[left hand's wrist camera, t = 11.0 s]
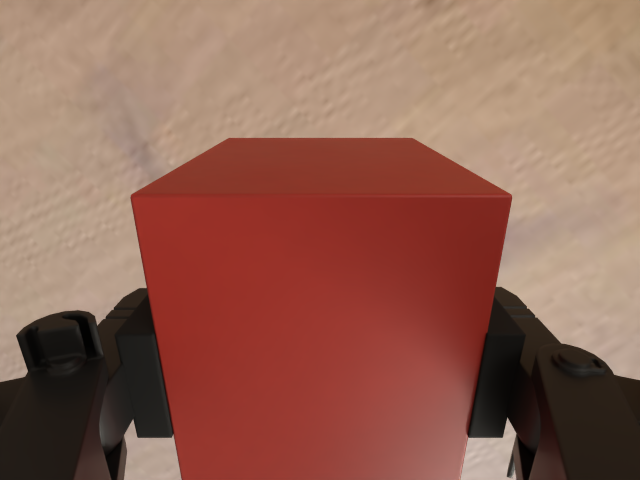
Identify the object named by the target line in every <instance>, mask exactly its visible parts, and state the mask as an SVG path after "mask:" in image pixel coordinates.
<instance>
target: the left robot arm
mask: <svg viewBox="0 0 640 480" xmlns="http://www.w3.org/2000/svg"><path fill="white" fill-rule="evenodd" d="M16 337H17V340H18V343H19V346H20V349H21V351H22V354H23V357H24V360H25V363H26V366H27V369H28V373H27V375H26V377H23V378H19V379H14V380H9V381H4V382H0V480H124V472H125V464H126V456H127V448H126V442H125V438H124V434H125V432H126V430H127V429H128V427H129V425H130V423H131V421H132V420H133V419H134V424H135V428H136V433H137V437H138V438H172V436H173V428H172V423H171V417H170V412H169V406H168V401H167V395H166V390H165V384H164V379H163V373H162V368H161V362H160V357H159V351H158V346H157V340H156V335H155V329H154V324H153V318H152V313H151V307H150V302H149V296H148V291H147V288H139V289H137V290H135V291H134V292H132V293H130V294H129V295H127V296H125V297H124V298H123V299H122V300H121V301H120V302H119V303H118V304H117V305H116V306H115V307H114V310H111V312H110V313H109V314H108V315H107V316H106V319H103V320H102V321H101V322H100V323H99V325H98V326H97V323H96V319H95V316H94V315H92V314H91V313H89V312H85V311H79V310H77V311H64V312H60V313H56V314H51V315H48V316H46V317H43V318H41V319H38V320H36V321H34V322H32V323H31V324H29V325H27V326H26V327H24V328H23V329H22V330H21V331H20V332H19V333H18V334H17V335H16ZM507 417H508V419H509V421H510V422H511V424H512V426H513V428H514V430H515V431H516V433H517V434H516V438H515V442H514V446H513V450H512V454H511V459H510V463H509V467H508V472H507V477H509V478H513V474H514V470H515V471H516V480H640V380H636V379H631V378H626V377H621V376H616V375H614V374H613V372H612V370H611V369H610V368H609V366H608V365H607V364H606V363H605V362H604V361H603V360H601V359H600V358H598V357H597V356H596V355H594V354H592V353H590V352H588V351H586V350H583V349H581V348H578V347H574V346H571V345H567V344H561V343H560V342H559V341H558V340H557V338H556V337H555V336H554V335H553V334H552V333H551V332H550V331H549V330H548V329H547V328H546V327H545V326H544V325H543V323H542V322H541V321H540V320H539V319H538V318H535V315H534V314H533V313H532V312H531V311H530V310H529V309H527V306H526V305H525V304H524V303H523V302H522V301H521V300H520V299H519V298H518V297H517V296H516V295H514V294H513V293H511V292H509V291H507V290H506V289H504V288H502V287H496V288H495V293H494V299H493V304H492V310H491V315H490V320H489V326H488V331H487V333H486V338H485V343H484V349H483V354H482V359H481V365H480V370H479V376H478V381H477V387H476V392H475V398H474V403H473V408H472V414H471V419H470V425H469V430H468V437H469V438H503V434H504V429H505V425H506V421H507Z"/></svg>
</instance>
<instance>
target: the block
mask: <svg viewBox="0 0 640 480" xmlns="http://www.w3.org/2000/svg"><path fill="white" fill-rule="evenodd" d="M511 201H512V195H511V194H509V193H508V192H506V191H504V190H502V189H501V188H499V187H497V186H495V185H494V184H492V183H490V182H488V181H487V180H485V179H483V178H481V177H480V176H478V175H476V174H474V173H473V172H471V171H469V170H467V169H466V168H464V167H462V166H460V165H459V164H457V163H455V162H453V161H452V160H450V159H448V158H446V157H445V156H443V155H441V154H439V153H438V152H436V151H434V150H432V149H431V148H429V147H427V146H425V145H424V144H422V143H420V142H418V141H417V140H415V139H413V138H228V139H226V140H225V141H223V142H221V143H220V144H218V145H216V146H214V147H213V148H211V149H209V150H207V151H206V152H204V153H202V154H201V155H199V156H197V157H195V158H194V159H192V160H190V161H188V162H187V163H185V164H183V165H182V166H180V167H178V168H176V169H175V170H173V171H171V172H170V173H168V174H166V175H164V176H163V177H161V178H159V179H157V180H156V181H154V182H152V183H151V184H149V185H147V186H145V187H144V188H142V189H140V190H138V191H137V192H135V193H133V194H132V195H131V203H132V209H133V214H134V219H135V225H136V230H137V236H138V241H139V247H140V252H141V258H142V263H143V269H144V274H145V280H146V285H147V291H148V296H149V302H150V307H151V313H152V318H153V324H154V329H155V335H156V340H157V346H158V351H159V357H160V362H161V368H162V373H163V379H164V384H165V390H166V395H167V401H168V406H169V412H170V417H171V423H172V428H173V434H174V439H175V445H176V450H177V456H178V461H179V467H180V472H181V478H182V480H460V478H461V472H462V467H463V461H464V456H465V451H466V445H467V440H468V430H469V425H470V419H471V414H472V408H473V403H474V398H475V392H476V387H477V381H478V376H479V370H480V365H481V359H482V354H483V349H484V343H485V338H486V333H487V331H488V326H489V320H490V315H491V310H492V304H493V299H494V293H495V288H496V282H497V277H498V272H499V266H500V261H501V255H502V250H503V245H504V239H505V234H506V228H507V223H508V217H509V212H510V207H511Z"/></svg>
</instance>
